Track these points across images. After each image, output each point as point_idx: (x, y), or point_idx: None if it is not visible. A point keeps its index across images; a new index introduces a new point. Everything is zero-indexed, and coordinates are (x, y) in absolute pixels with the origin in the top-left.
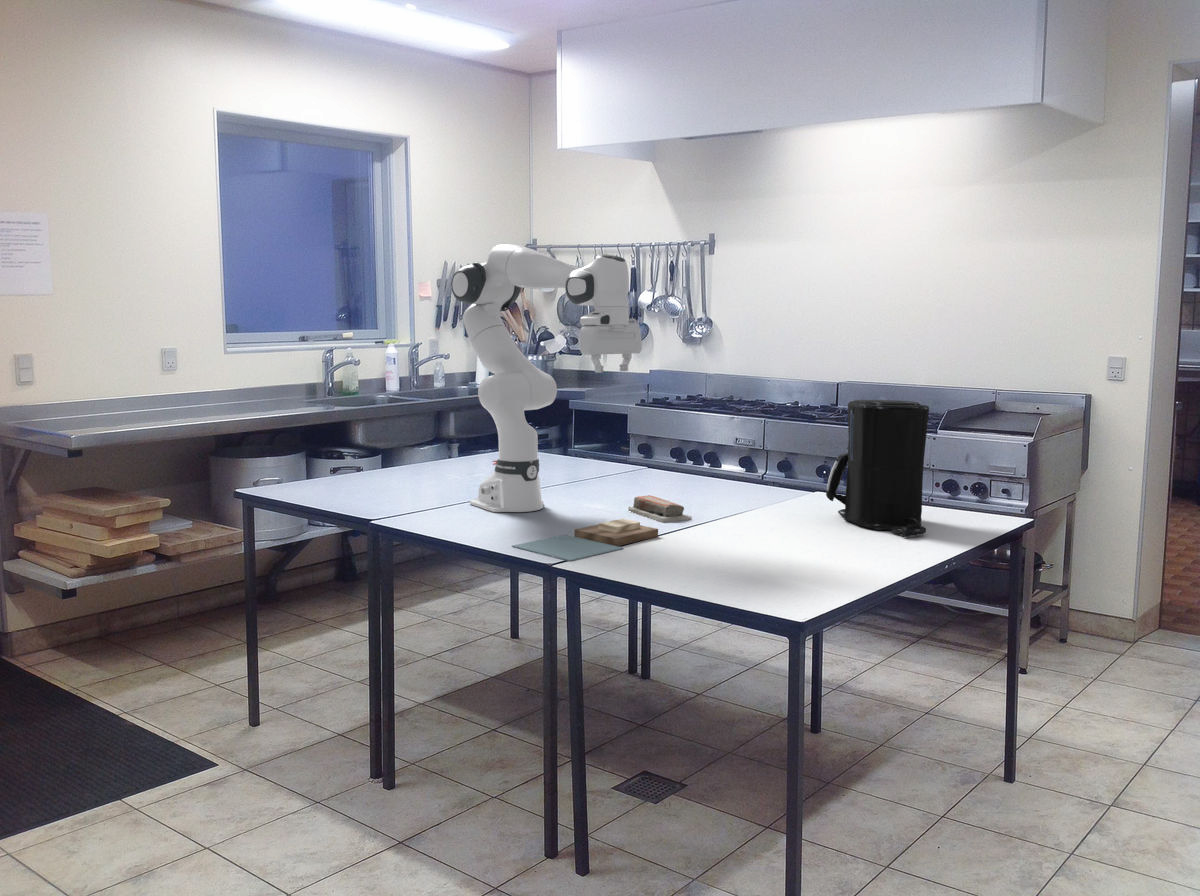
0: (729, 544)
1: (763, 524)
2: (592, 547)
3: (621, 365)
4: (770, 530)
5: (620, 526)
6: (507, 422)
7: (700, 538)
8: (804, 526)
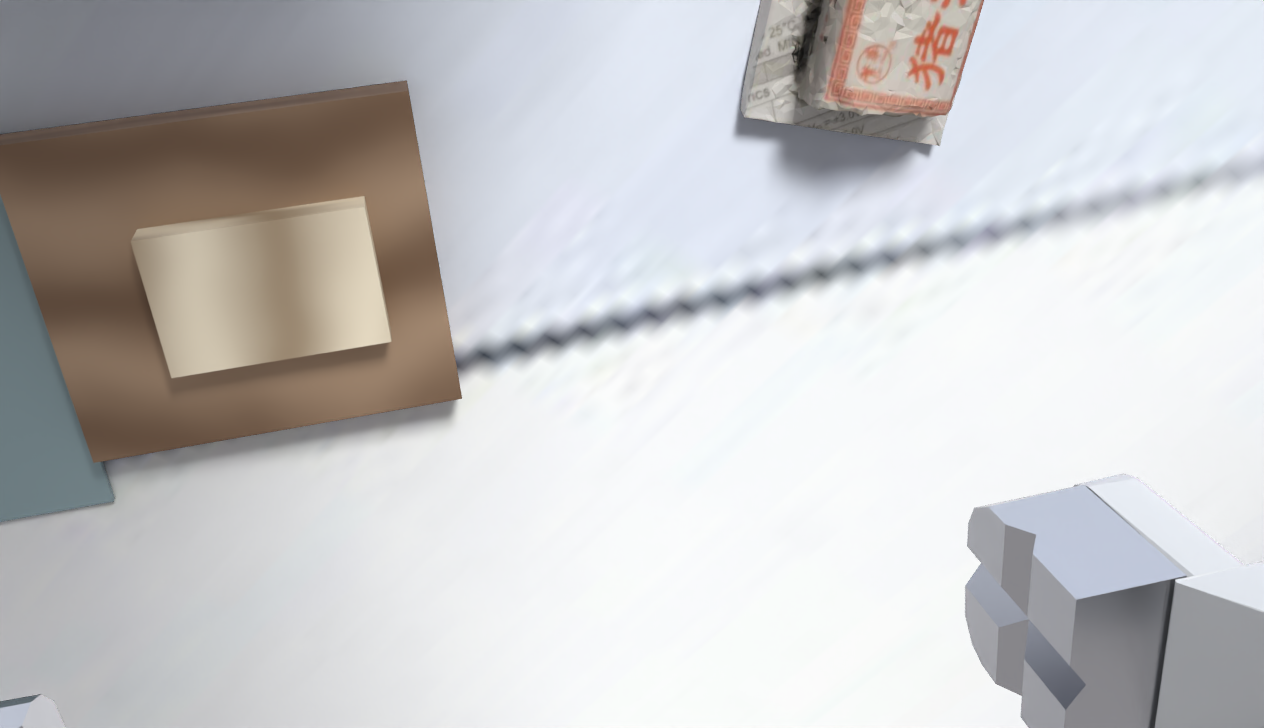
0: (624, 645)
1: (1074, 432)
2: None
3: (1054, 647)
4: None
5: (214, 370)
6: None
7: (609, 506)
8: None
